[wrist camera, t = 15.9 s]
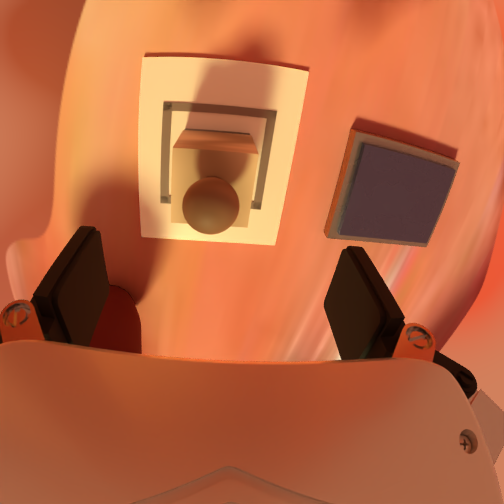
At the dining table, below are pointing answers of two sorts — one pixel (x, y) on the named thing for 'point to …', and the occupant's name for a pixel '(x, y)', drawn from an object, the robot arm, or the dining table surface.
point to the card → (222, 119)
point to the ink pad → (389, 191)
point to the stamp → (212, 179)
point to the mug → (118, 324)
